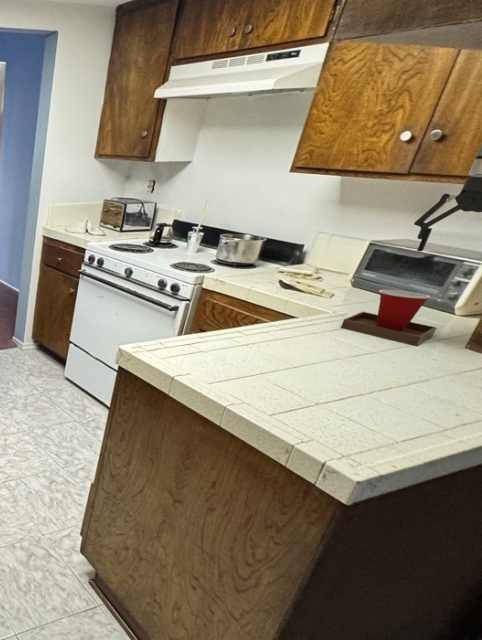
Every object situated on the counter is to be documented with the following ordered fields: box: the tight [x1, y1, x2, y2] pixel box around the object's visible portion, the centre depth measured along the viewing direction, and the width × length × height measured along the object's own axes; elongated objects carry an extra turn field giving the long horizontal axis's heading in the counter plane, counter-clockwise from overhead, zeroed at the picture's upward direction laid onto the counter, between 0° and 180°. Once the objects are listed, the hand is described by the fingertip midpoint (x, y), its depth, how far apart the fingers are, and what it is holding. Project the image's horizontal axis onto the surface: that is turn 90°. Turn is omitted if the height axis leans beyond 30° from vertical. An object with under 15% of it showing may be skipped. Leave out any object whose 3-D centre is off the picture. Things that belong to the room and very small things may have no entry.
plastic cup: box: [376, 289, 431, 332], centre depth 141 cm, size 11×11×12 cm
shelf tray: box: [340, 311, 438, 347], centre depth 144 cm, size 17×16×3 cm
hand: (453, 254), depth 134 cm, fingers open, 13 cm apart
